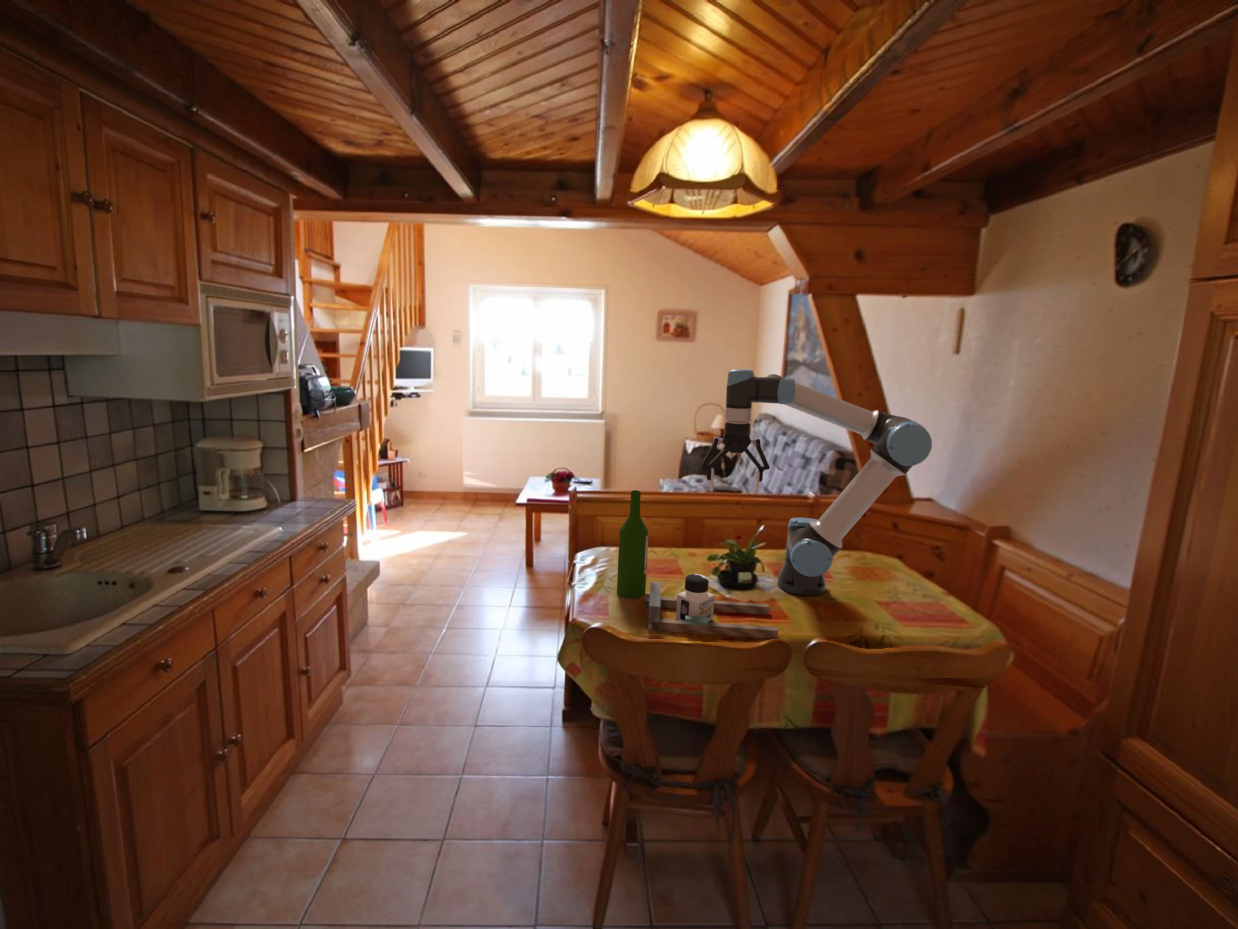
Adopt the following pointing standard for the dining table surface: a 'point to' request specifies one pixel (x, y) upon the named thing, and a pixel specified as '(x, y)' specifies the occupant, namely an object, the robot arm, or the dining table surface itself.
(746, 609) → the wooden frame
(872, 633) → the dining table surface
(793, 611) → the dining table surface
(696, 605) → the container
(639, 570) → the wine bottle
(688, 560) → the dining table surface
